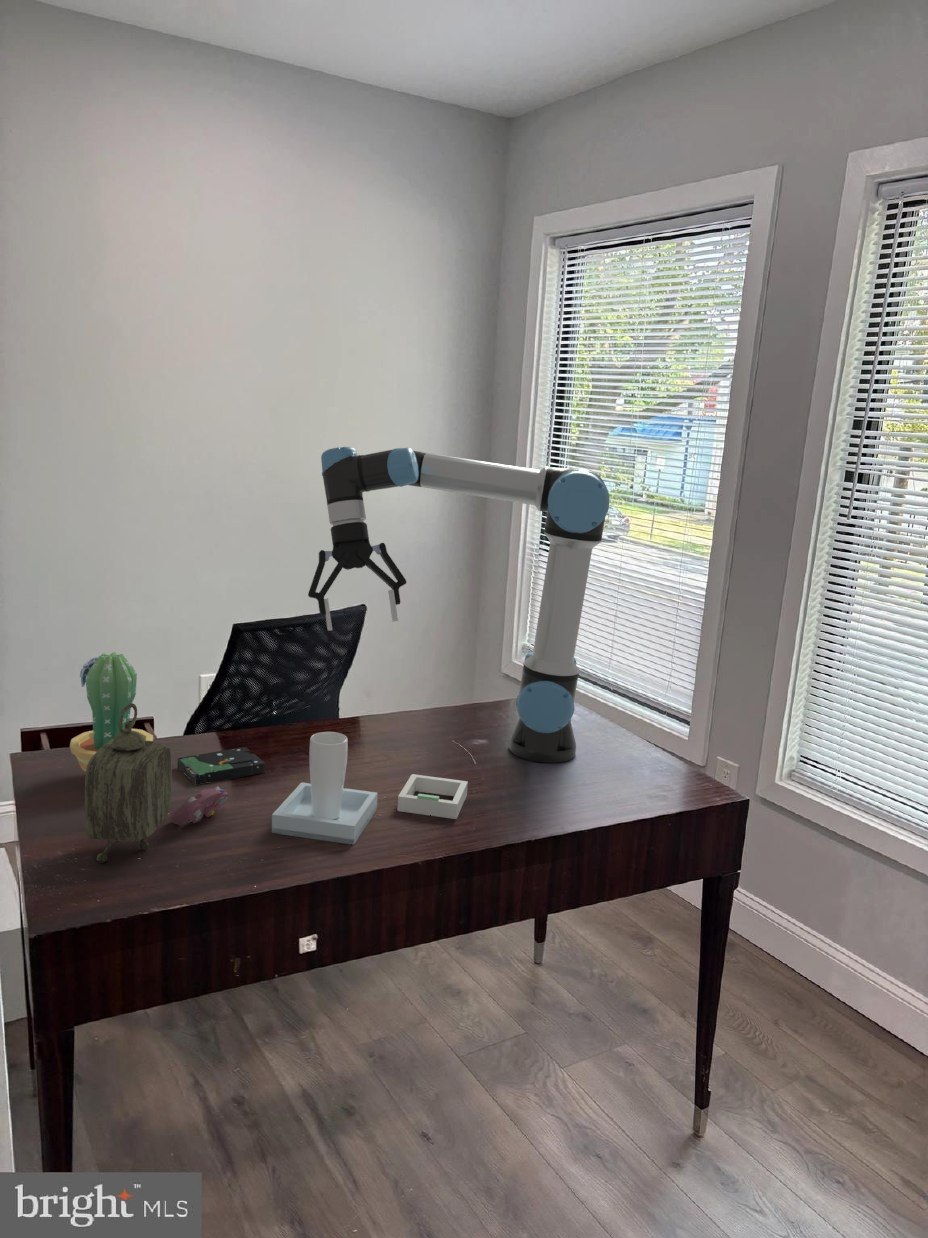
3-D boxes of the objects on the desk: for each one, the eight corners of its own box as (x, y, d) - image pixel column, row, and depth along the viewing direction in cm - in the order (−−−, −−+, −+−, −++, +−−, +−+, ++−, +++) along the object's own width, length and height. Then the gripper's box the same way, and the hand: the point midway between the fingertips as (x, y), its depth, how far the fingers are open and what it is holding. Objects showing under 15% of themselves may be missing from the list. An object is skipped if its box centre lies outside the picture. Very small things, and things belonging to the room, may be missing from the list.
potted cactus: (143, 759, 191) (141, 642, 185) (164, 787, 178) (163, 662, 173) (62, 771, 182) (59, 648, 177) (79, 801, 170) (75, 670, 164)
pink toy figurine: (182, 837, 162) (195, 809, 159) (166, 820, 163) (178, 791, 161) (223, 818, 170) (236, 791, 167) (207, 802, 172) (220, 775, 169)
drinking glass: (303, 810, 170) (305, 733, 167) (338, 805, 173) (341, 730, 169) (313, 825, 164) (315, 746, 161) (349, 821, 167) (353, 742, 163)
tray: (376, 810, 174) (377, 792, 174) (353, 844, 160) (354, 826, 159) (300, 799, 177) (301, 782, 176) (271, 833, 162) (272, 814, 162)
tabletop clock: (122, 828, 160) (119, 690, 155) (173, 832, 160) (173, 694, 155) (86, 868, 146) (82, 718, 141) (142, 872, 146) (141, 722, 141)
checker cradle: (466, 795, 184) (468, 778, 183) (456, 819, 173) (457, 801, 172) (411, 788, 186) (412, 771, 185) (397, 811, 175) (398, 793, 174)
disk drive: (244, 758, 197) (176, 770, 188) (245, 746, 196) (176, 757, 187) (265, 775, 189) (195, 788, 180) (266, 762, 188) (195, 774, 179)
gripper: (404, 519, 197) (418, 617, 197) (286, 533, 191) (301, 634, 191) (410, 514, 189) (425, 616, 190) (287, 528, 184) (303, 634, 184)
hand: (363, 626), depth 190 cm, fingers open, 13 cm apart
